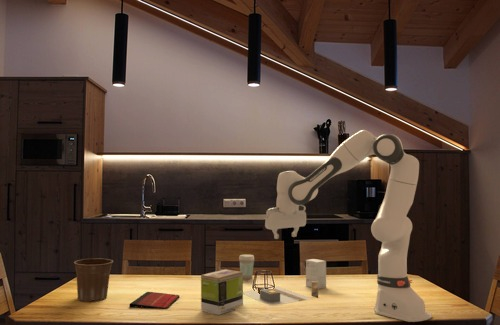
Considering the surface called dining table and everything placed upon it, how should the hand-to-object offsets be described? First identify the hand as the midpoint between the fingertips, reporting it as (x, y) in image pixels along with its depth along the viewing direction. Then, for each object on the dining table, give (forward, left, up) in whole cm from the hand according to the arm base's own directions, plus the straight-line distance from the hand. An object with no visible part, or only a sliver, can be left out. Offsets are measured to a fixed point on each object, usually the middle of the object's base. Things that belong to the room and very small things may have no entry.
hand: (285, 237), depth 206 cm
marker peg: (-6, -12, -27) cm, 30 cm away
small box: (+10, -26, -27) cm, 39 cm away
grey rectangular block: (-4, +11, -25) cm, 28 cm away
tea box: (-2, +33, -27) cm, 43 cm away
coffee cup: (+44, -7, -27) cm, 52 cm away
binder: (+22, +52, -28) cm, 63 cm away
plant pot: (+41, +74, -27) cm, 89 cm away
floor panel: (+1, +5, -27) cm, 27 cm away
